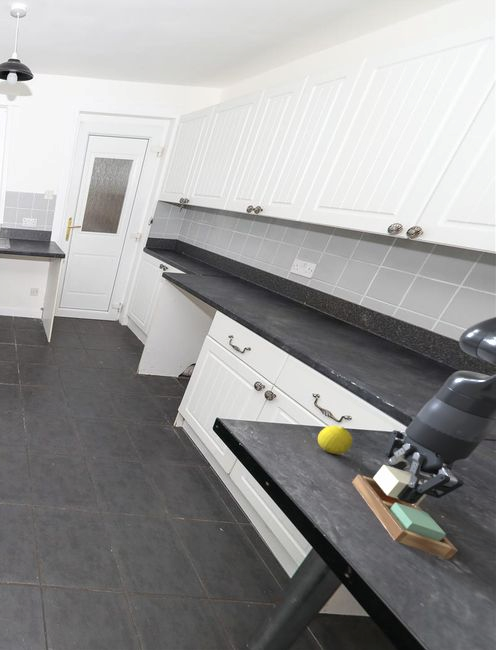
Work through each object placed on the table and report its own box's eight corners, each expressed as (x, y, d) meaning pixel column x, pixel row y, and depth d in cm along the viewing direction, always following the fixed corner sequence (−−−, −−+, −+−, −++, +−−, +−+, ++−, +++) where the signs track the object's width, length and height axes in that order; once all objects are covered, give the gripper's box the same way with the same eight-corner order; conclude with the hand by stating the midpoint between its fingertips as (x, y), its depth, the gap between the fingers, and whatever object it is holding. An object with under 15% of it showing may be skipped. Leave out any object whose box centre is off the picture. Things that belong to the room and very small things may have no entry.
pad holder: (394, 498, 71) (402, 487, 70) (447, 561, 59) (458, 550, 58) (350, 483, 74) (357, 473, 72) (392, 542, 62) (402, 531, 60)
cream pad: (401, 486, 69) (412, 473, 67) (417, 505, 65) (430, 491, 63) (372, 478, 70) (383, 464, 69) (387, 495, 66) (398, 481, 65)
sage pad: (414, 526, 65) (427, 512, 63) (432, 548, 61) (446, 534, 59) (383, 515, 66) (395, 502, 64) (399, 536, 62) (412, 522, 61)
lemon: (346, 464, 79) (365, 439, 76) (318, 456, 81) (335, 431, 78) (333, 448, 84) (350, 423, 81) (307, 440, 86) (322, 416, 82)
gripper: (517, 461, 53) (449, 530, 60) (445, 409, 66) (395, 471, 72) (453, 444, 56) (394, 512, 63) (396, 397, 68) (352, 458, 75)
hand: (395, 490), depth 67 cm, fingers closed on cream pad, 4 cm apart
